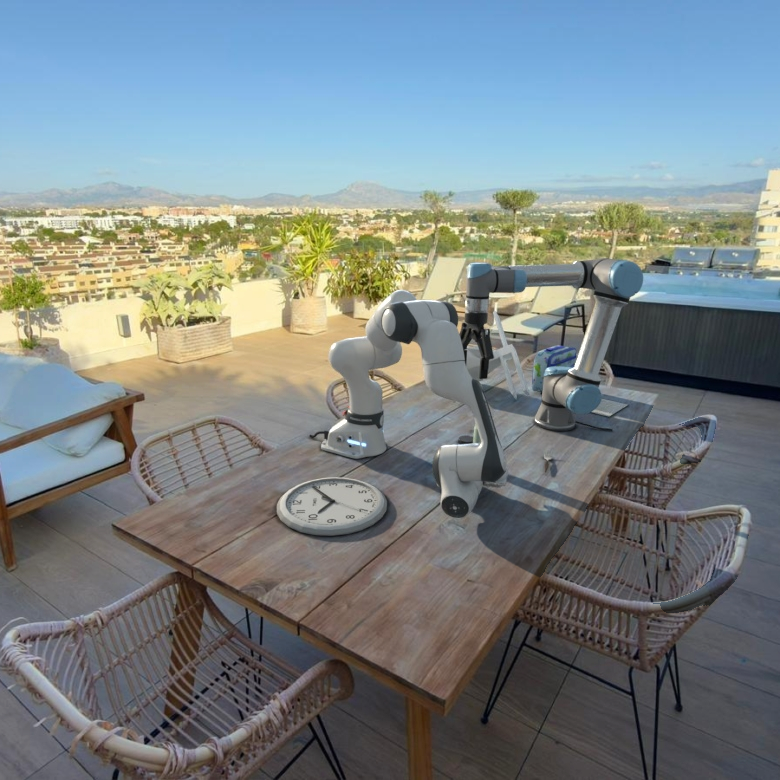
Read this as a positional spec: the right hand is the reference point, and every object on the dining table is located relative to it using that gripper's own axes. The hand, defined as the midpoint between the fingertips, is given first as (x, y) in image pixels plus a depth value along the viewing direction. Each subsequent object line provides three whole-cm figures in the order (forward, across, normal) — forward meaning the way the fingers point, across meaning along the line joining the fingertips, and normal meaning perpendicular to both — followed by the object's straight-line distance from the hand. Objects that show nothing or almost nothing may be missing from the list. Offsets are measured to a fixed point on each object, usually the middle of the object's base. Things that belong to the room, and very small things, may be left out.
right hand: (472, 373), depth 178 cm
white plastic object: (+26, -50, +36) cm, 67 cm away
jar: (+26, +18, -6) cm, 32 cm away
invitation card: (+26, -14, +75) cm, 81 cm away
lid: (+24, 0, 0) cm, 24 cm away
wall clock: (+26, +24, -57) cm, 67 cm away
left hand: (+20, +25, -13) cm, 34 cm away
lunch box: (+26, -41, +71) cm, 86 cm away
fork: (+26, +24, +15) cm, 39 cm away
